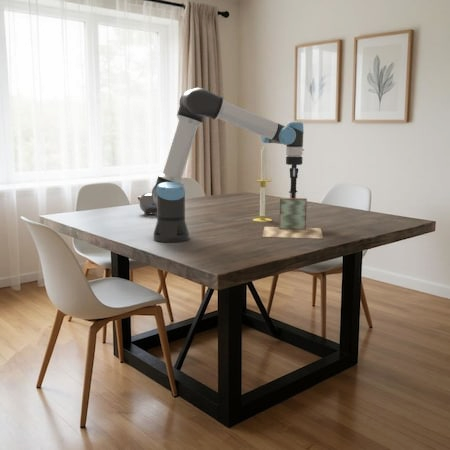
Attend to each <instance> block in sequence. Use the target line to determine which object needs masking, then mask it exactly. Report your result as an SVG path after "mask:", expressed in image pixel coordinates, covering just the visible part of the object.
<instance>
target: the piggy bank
mask: <svg viewBox="0 0 450 450" xmlns="http://www.w3.org/2000/svg"><path fill="white" fill-rule="evenodd" d="M137 200H138V204H139V207H140V210H141V211H142V212H143V215H144V216H148V215H149V214H152V216H155V217H156V216H157V205H156V204H155V203H154V201H153V199H152V192H147V193H144V194H142V195H141V196H137Z"/></svg>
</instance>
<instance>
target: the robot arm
mask: <svg viewBox="0 0 450 450" xmlns="http://www.w3.org/2000/svg"><path fill="white" fill-rule="evenodd" d="M176 117H177V119H178V123H177V126H176V129H175V133H174V135H173V139H172V143H171V144H170V148H169V152H168V155H167V158H166V162H165V165H164V168H163V172H161V174H159V175H158V177H157V179H156V183H155V185H154V186H153V188H152V190H151V193H152V199H153V201H154V203H155V204H156V205H157V214H156V216H157V221H156V225H155V228H154V230H153V231H154V232H153V234H152V235H153V241H156V242H162V243H181V242H184V241H188V240H189V239H190V232H189V228H188V224H187V222H186V188H185V185H184V184H185V182H184V181H183V176H184V172H185V169H186V165H187V164H188V159H189V156H190V153H191V150H192V146H193V143H194V139H195V137H196V134H197V130H198V127H200V126H201V125H202V124H203V123H204V120H205V118H209V119H211V120H214V121H215V120H217V119H218V120H221V121H224V122H226V123H229V124H231V125H233V126H236V127H238V128H241V129H243V130H247V131H249V132H251V133H254V134H256V135H258V136H260V139H261V142H262V143H264V144H280V145H284V146H286V148H285V155H286V157H285V164H286V165H288V166H289V165H290V166H291V167H290V168H289V178H290V187H289V188H290V190H289V191H288V193H289V194H290V195H289V198H297V193H298V190H297V179H298V173H299V168H297V167H298V166H302V165H303V152H304V151H305V149H304V148H303V147H304V133H305V132H304V123H303V122H301V121H288V122H286V126H285V125H283V124H281V123H278V122H276V121H273V120H271V119H270V118H266V117H264V116H261V115H259V114H256V113H254V112H252V111H249V110H247V109H244V108H242V107H239V106H237V105H235V104H232V103H230V102H228V101H225V99H224V97H222V96H220V95H217V94H215V93H214V92H211V91H209V89H205V88H202V87H195V88H189V89H188V90H186V91H184V92H183V93H182V95H181V96H180V99H179V107H178V110H177V114H176Z"/></svg>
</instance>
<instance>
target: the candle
mask: <svg viewBox="0 0 450 450" xmlns="http://www.w3.org/2000/svg"><path fill="white" fill-rule="evenodd" d="M260 152H261V153H260V179H259V178H258V179H254V180H253V181H254V182H259V183H260V187H259V188H260V189H259V190H260V193H259V194H260V195H259V217H257V218H256V217H255V218H252V221H253V222H254V221H255V222H265V223H267V222H271V221H273V219H271V218H265V217H266V216H265V215H266V183H269V182H272V179H268V178H267V179H266V155H267V153H266V152H267V151H266V149H265V145H263V147H262V149H261V151H260Z"/></svg>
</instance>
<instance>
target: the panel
mask: <svg viewBox="0 0 450 450" xmlns="http://www.w3.org/2000/svg"><path fill="white" fill-rule="evenodd" d="M307 201H308V199H307V198H301V197H300V198H297V197H296V198H290V197H280V198H279V226H278V227H279V229H297V230H306V228H307V206H308V205H307Z"/></svg>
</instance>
